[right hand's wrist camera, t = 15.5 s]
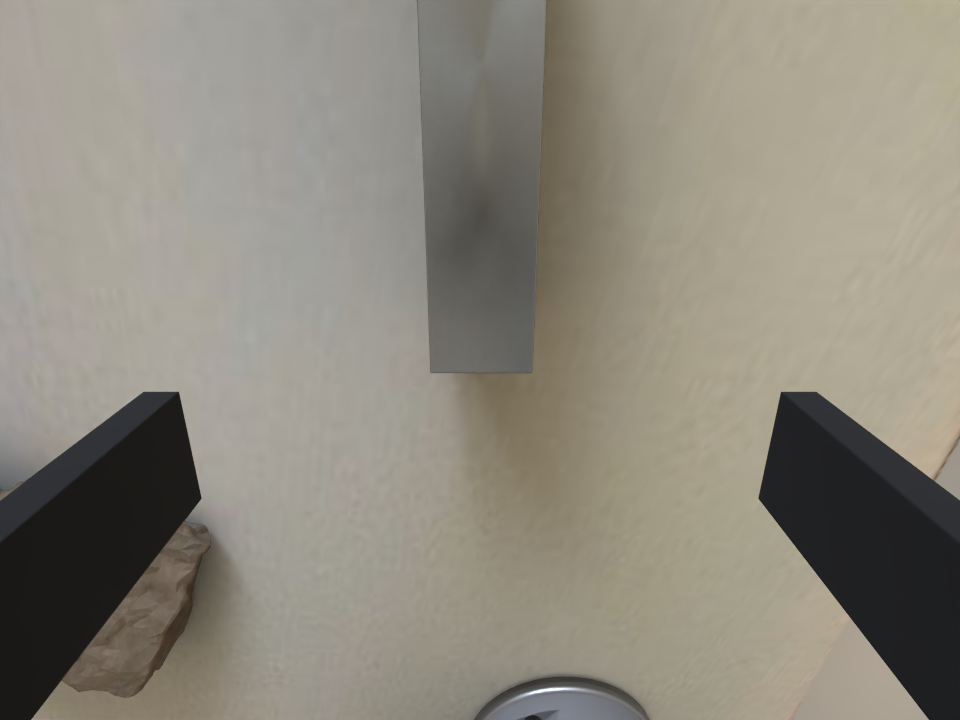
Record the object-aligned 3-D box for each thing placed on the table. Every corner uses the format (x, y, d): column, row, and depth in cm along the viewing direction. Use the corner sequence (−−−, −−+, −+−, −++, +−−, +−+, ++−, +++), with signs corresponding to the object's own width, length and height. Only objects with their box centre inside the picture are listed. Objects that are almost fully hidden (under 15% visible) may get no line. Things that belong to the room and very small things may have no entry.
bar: (520, 315, 33) (532, 373, 26) (442, 315, 33) (430, 373, 26) (536, -245, 24) (563, -425, 16) (427, -244, 24) (402, -425, 16)
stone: (-164, 617, 38) (-253, 687, 32) (-114, 415, 36) (-199, 451, 30) (173, 665, 44) (148, 730, 38) (231, 495, 42) (214, 537, 37)
